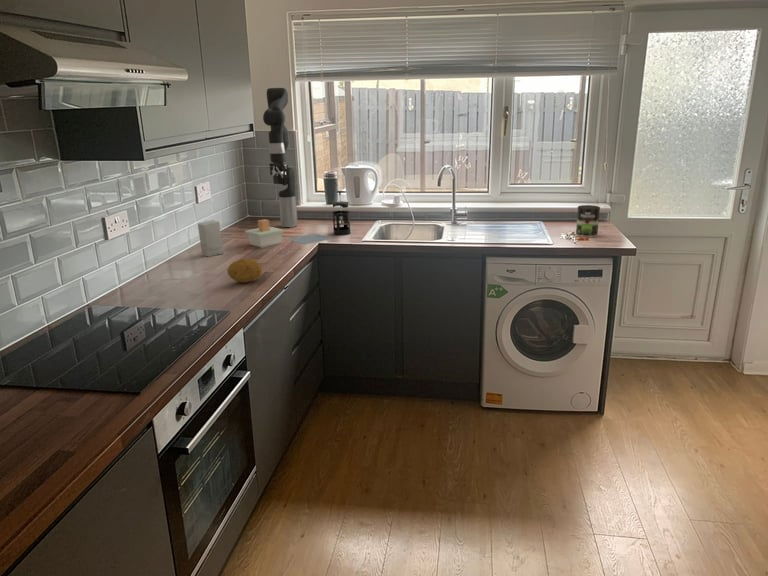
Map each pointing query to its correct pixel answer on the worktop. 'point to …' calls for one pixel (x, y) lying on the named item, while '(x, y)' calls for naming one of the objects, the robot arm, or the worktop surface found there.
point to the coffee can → (587, 221)
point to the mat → (309, 238)
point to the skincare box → (210, 238)
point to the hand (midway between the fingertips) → (280, 184)
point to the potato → (244, 270)
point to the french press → (346, 219)
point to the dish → (265, 240)
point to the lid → (264, 229)
